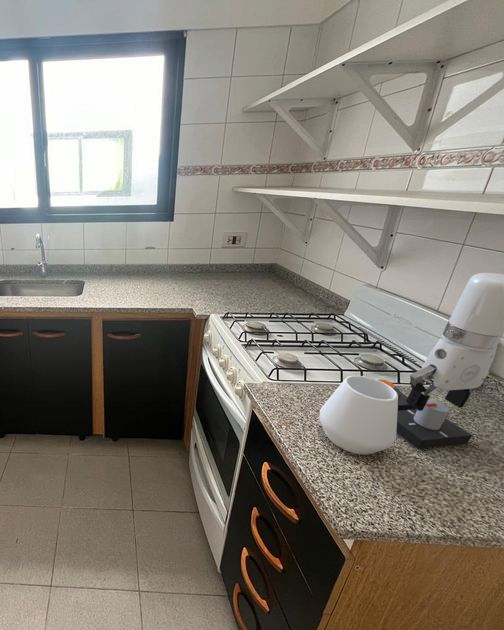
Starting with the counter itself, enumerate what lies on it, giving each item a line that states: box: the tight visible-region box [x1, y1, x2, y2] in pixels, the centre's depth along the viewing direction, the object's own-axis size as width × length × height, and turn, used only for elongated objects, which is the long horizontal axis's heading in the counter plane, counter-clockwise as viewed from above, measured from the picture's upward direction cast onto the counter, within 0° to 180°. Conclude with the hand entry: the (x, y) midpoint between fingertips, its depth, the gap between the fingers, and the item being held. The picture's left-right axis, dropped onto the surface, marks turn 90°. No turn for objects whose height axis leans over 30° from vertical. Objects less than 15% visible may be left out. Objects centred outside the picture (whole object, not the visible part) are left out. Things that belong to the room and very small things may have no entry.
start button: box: [377, 379, 396, 389], centre depth 86 cm, size 4×4×2 cm
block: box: [394, 386, 415, 411], centre depth 87 cm, size 11×9×4 cm
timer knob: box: [413, 398, 450, 430], centre depth 76 cm, size 4×4×5 cm
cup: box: [319, 374, 398, 456], centre depth 73 cm, size 13×13×14 cm
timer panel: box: [396, 409, 473, 450], centre depth 78 cm, size 12×9×3 cm
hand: (433, 405), depth 75 cm, fingers open, 9 cm apart
